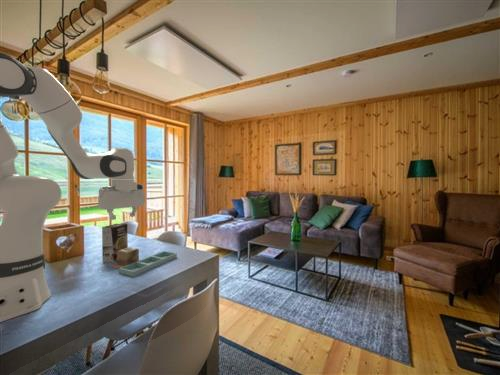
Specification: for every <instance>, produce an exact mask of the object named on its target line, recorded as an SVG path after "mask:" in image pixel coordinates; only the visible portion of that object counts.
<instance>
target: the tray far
mask: <svg viewBox="0 0 500 375" xmlns="http://www.w3.org/2000/svg"><path fill="white" fill-rule="evenodd" d="M151 256H153V257H158V258H164V263H163V264H165V263H167V262H169V261H172V260H174V259H177V258H178V256H177V252H172V251H165V250H162V251H161V252H158V253H155V254H151Z"/></svg>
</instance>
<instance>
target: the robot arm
mask: <svg viewBox="0 0 500 375" xmlns="http://www.w3.org/2000/svg"><path fill="white" fill-rule="evenodd" d="M16 97H19V98H21V99H22V100H24V101H25V102H26V103H27V104H28V105H29V106H30V108H32V109H33V111H34V112H35V113H36V115H37V116H38V117H40V119H41V120H42V121H43V123H44V124H45V126H46V129H47V132H48V134H49V135H50V137H51V138H52V139H53V141H54V142H55V144H57V146H58V147H59V148H60V151H61V152H63V154H64V155H65V157H66V158H67V159H68V161H69V163H70V165H71V167H72V170H73V171H74V173H75V175H77V177H78V178H80V179H83V180H92V179H93V180H94V179H110V186H102V187H101V188H99V190H98V199H97V208H98V209H99V210H101V211H102V210H103V211H105V210H106V212H107V213H108V215H109V219H110V220H111V221H114V220H116V218H117V215H116V214H114V210H115V209H122V208H123V209H124V208H131V209H132V210H131V212H129V217H131V218H133V217H136V212H138V207H143V206H145V203H146V194H145V191H144V190H145V185H144V184H142V183H138V182H136V181H135V175H134V174H135V173H134V171H135V156H134V153H133V151H131V150H130V149H128V148H123V147H114V148H112V149H111V150H110V151H107V152H104V153H98V154H97V153H96V154H94V153H93V154H92V153H88V152H87V151H86V150H85V149H84V148H83V146H82V145H81V144H80V142H79V140H78V139H77V138H76V136H75V135H74V131H75V129H77V128H78V127H79V126H80V124H81V122H82V121H83V112H82V110H81V108H80V107H79V105H78V104H77V102H76V101H75V99H74V98H73V97H72V96H71V93H69V92H68V90H67V89H66V88H65V87H64V85H63V84H61V82H60V81H59V80H58V79H57V78H56V77H55V76H54V75H53V74H52V73H51V72H49V71H48V69H45V68H43V67H40V66H27V65H25V64H23V63H22V62H20V61H19V60H18V59H16V58H14V57H13V56H11V55H10V54H7V53H5V52H1V51H0V99H1V98H2V99H3V98H16ZM18 155H19V149H18V148H17V146H16V143H15V142H14V140H13V137H11V135H10V133H9V131H8V129H7V128H6V126H5V124H4V122H3V120H2V118H0V212H3V218H2V221H1V223H0V323H2V322H5V321H8V320H10V319H14V318H16V317H19V316H22V315H25V314H27V313H28V314H29V313H31V312H33V311H37V310H39V309H40V308H41V307H42V306H43V304H44V303H45V302H46V301H48V300H49V299H50V297H51V296H52V294H51V290H50V289H49V287H48V283H47V279H46V275H45V269H46V257H45V253H44V252H43V233H44V232H43V231H44V225H45V222H46V220H47V217H48V215H49V214H50V212H51V211H52V210H53V209H54V208H55V207H57V206H58V204H59V203H60V201H61V199H62V189H61V186H60V185H59V183H57V182H56V181H55V180H53V179H50V178H47V177H42V176H38V175H20V174H19V173H18V172H17V169H16V164H15V159H16V158H17V157H18Z"/></svg>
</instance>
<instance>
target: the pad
mask: <svg viewBox="0 0 500 375" xmlns="http://www.w3.org/2000/svg"><path fill="white" fill-rule="evenodd" d="M111 267H113V268H117V269H119V268H121V267H124V266H121V265H117V263H115V264H112V265H111Z"/></svg>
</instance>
